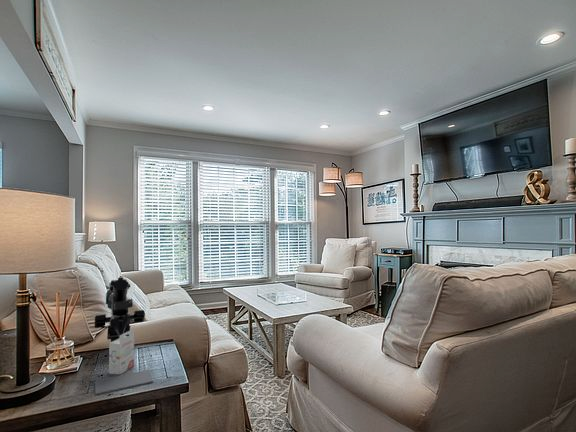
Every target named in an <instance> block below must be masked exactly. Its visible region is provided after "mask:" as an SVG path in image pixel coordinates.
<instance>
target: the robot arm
mask: <svg viewBox="0 0 576 432" xmlns="http://www.w3.org/2000/svg"><path fill="white" fill-rule="evenodd" d="M108 285H109V286H108V290H107V291H106V294H105V305H107V309H110V310H111V315H110V316H107V315H106V313H102V314H96V315H95V316H94V329H98V328H99V329H100V328H104V327H105V326H106V323H109V325H107V331H106V337H107V338H106V339H107V340H110V342H113V341H115V340H117V339H119V336H120V335H122V334H124V333H126V332H128V331H131V325H130V324H131V320H133V322H134V323H136V324H137V323H142V322H144V321H145V317H146V312H145V310H144V309H137V310H134V312H133V313H131V314H128V313H129V309H130V308H131V309H132V308H133V299H132V298H130V299H128V298H127V296H128V295H127V294H128V290H129V289H131V284H130V283H129V281H127V278H126V279H124V278H123V277H118V278H117V279H112V280H110V282H109V283H108ZM126 336H129V334H128V335H126Z"/></svg>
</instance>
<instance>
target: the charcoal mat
mask: <svg viewBox="0 0 576 432" xmlns="http://www.w3.org/2000/svg"><path fill="white" fill-rule="evenodd" d="M152 383H154V379H153V377H152V374H151V371H150V370H149V369H145V370H140V371H135V372H129V373H124V374H120V375H115V376H110V377H105V378H100V379H96V380H95V381H94V390H95V391H94V392H95V393H94V395H95V396H96V395H101V394H106V393H112V392H115V391H118V390H120V391H121V390H125V389H129V388H134V387H138V386H143V385H147V384H152Z"/></svg>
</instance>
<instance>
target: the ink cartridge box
mask: <svg viewBox="0 0 576 432" xmlns="http://www.w3.org/2000/svg"><path fill="white" fill-rule="evenodd" d="M128 334H129V336H126V335H128ZM108 343H109V344H108V348H109V349H108V353H109V354H108V374H110V375H117V376H119V375H122V374H123V373H124V372H126V371H128V370H130V369H131V368H133V367H134V365H135V333H134V329H130V331H128V332H126V333H124V334H122V335H120V336H119V339H117V340H115V341H113V342H111V341H110V342H108Z"/></svg>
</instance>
